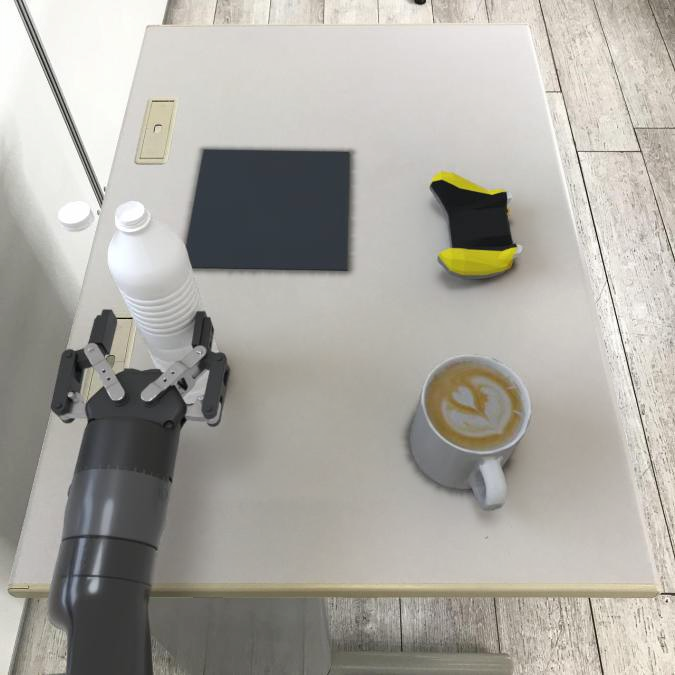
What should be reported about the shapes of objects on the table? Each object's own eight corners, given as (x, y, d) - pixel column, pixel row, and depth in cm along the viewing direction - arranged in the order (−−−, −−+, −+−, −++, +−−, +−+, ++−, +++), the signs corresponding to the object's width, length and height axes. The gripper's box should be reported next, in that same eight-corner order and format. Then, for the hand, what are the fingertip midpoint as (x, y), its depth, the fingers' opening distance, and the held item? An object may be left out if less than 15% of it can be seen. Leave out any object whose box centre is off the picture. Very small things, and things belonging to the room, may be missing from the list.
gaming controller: (434, 291, 76) (518, 290, 76) (441, 263, 71) (530, 262, 71) (424, 196, 83) (501, 195, 83) (429, 165, 78) (511, 164, 78)
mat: (182, 267, 77) (181, 266, 77) (203, 150, 88) (203, 149, 87) (346, 270, 77) (347, 269, 77) (349, 152, 87) (349, 151, 87)
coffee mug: (407, 398, 68) (417, 353, 60) (499, 398, 69) (522, 353, 60) (415, 524, 62) (428, 494, 53) (518, 523, 62) (547, 493, 53)
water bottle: (227, 353, 71) (176, 179, 51) (223, 404, 68) (166, 239, 47) (149, 356, 71) (67, 183, 51) (140, 407, 68) (48, 243, 47)
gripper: (51, 499, 54) (93, 333, 62) (219, 503, 53) (240, 336, 62) (11, 470, 47) (65, 289, 55) (203, 475, 47) (228, 293, 55)
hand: (157, 314), depth 58 cm, fingers open, 8 cm apart
